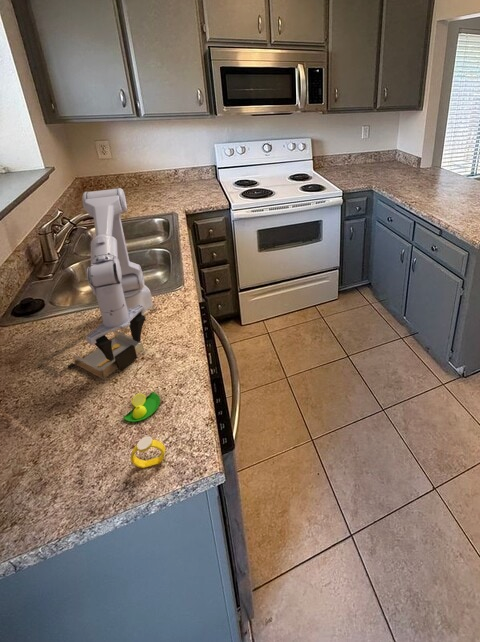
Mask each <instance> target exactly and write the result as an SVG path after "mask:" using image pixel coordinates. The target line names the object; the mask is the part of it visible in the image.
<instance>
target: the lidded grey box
mask: <svg viewBox="0 0 480 642" xmlns="http://www.w3.org/2000/svg"><path fill="white" fill-rule="evenodd" d="M112 333H113V337H114V338H112V339H110V340H111V341H112V347H113V345H115V344H120V347H119V348H117V349H114V350H112V352H113V356H114V360H112V361H109V362H107V363H105V364H104V365H102V366H101V367H97V366H98V365H99V364H101V363H102V362H103V361H105V360H106V357H105V355H104V354H103V352H102V351H101V350H100V349H99V348H97V349H95V350H93V351H92V352H91V353H89V354H88V355H85V357H83V358H82V357H79V356H78V355H77V354H74V355H73V356H72V359H73V361H74V364H75V366H76V365H77V366H78V367H80V368H81V369H83V370H86V371H87V372H89V373H90V374H93V375H95V376H97V378H100V379H102V380H103V379H105V378H106V377H108V376H109V375H111V374H112V373H114V372H115V371H116V370H119V371H121V370H123V369H124V368H126V367H127V366H129V365H130V364H131V363H132V362H134V361H135V360H136V359H138V354H139V353H141V352H142V351H143V350H144V344H143V341H141V340H140V341H139V342H137V341H134V340H133V338H132V336H130V335H127V334H125V333H123V332H120V331H119V330H115V331H113V332H112Z"/></svg>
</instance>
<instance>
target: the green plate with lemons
mask: <svg viewBox="0 0 480 642" xmlns="http://www.w3.org/2000/svg"><path fill="white" fill-rule="evenodd" d="M131 404H132V406H133V409H131V410H130V411H129V412H127V413H126V414H125V415H123V419H124V420H126V421H127V422H140V421H143V420H145V419H147V418H149V417H150V416H151V415H153V414H154V413H155V412H156V411H157V410H158V408H159V406H160V405H161V397H160V395H159V394H157V393H156V392H151V393H149V394H147V396H146V395H145V394H144V393H143V392H139V393H136V394H135V395H134V396H133V397H132V399H131Z"/></svg>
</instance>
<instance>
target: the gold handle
mask: <svg viewBox="0 0 480 642" xmlns="http://www.w3.org/2000/svg"><path fill="white" fill-rule="evenodd" d="M75 366H76V364H75V363H73V362H72V363H70V364H68V365H67V367H68V368H69V369H72V368H73V367H75Z"/></svg>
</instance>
